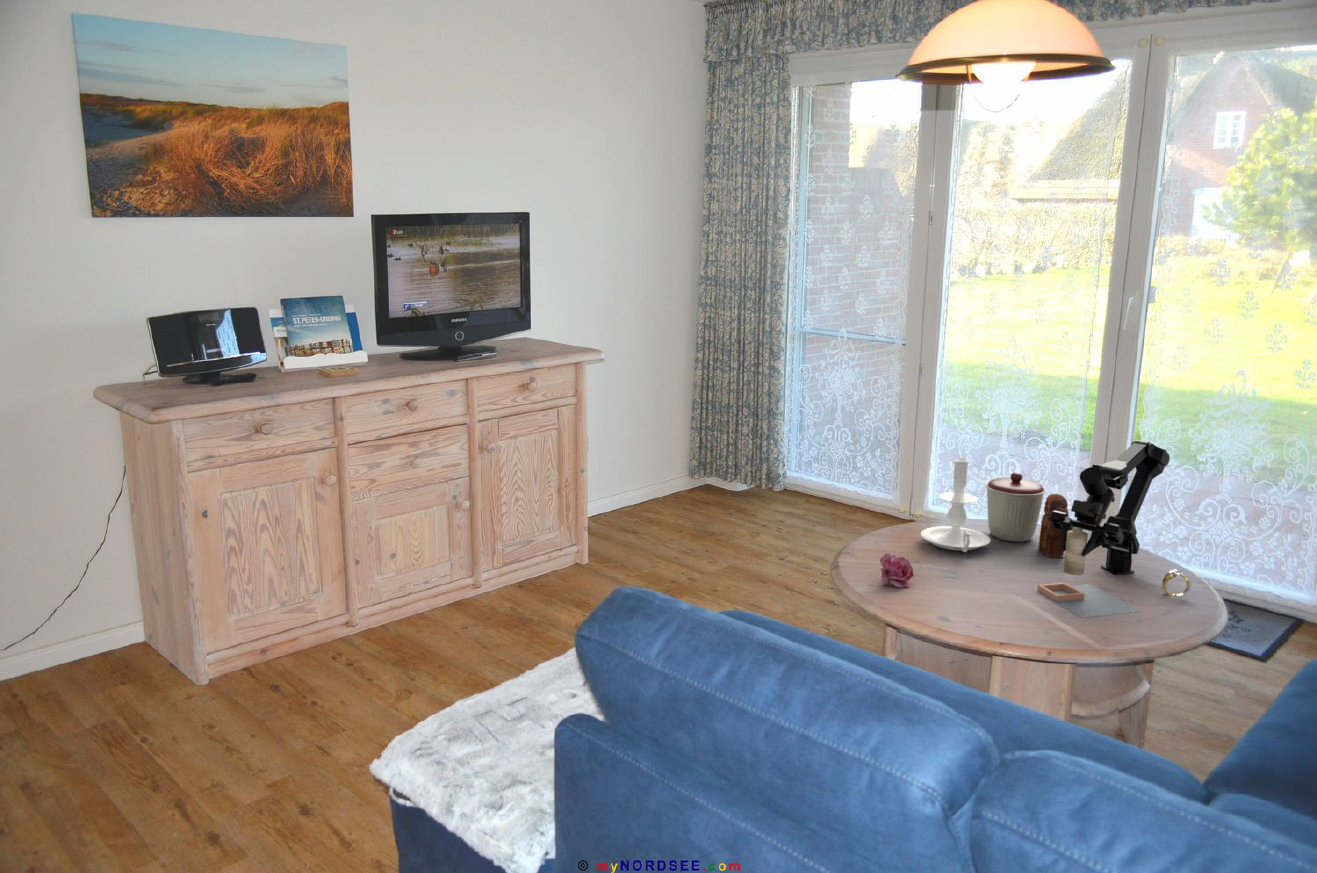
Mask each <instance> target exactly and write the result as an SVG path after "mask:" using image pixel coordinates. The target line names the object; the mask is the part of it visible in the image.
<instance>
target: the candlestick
mask: <svg viewBox="0 0 1317 873" xmlns="http://www.w3.org/2000/svg"><path fill="white" fill-rule="evenodd" d="M968 461H969V459H968V458H965V457H960V458H958V459H954V469H953V470H954V471H953V478H952V479H953V486H952V491H953V492H951V491H949V492H943V493H939V495H938V498H940V499H942V500H944V501H946V502H949V503H951V507H950V508H949V509H948V511H947V514H946V516H947V521H948V522H949V524H950V525H952V526H950V525H948V526H947V525H945V526H943V525H941V526H932V527H928V528H924V529H923V530H921V531H920V536H921V538H923V539H924V540H926V541H928V542H929V543H930V544H932V545H934V546H936V547H938V548H942V549H946V550H950V551H959V552H960V551H962V552H963V553H967V552H968V551H973V550H976V549H979V548H981V547H984V546H987V545H989V544H990V543H991V541H992V540H991V538H990V536H988V535H987V534H985V533H984V532H981V531H978V530H976V529H975V530H974V529H972V528H968V527H967V528H966V527H962V525H964V523H965V522H966V520H967V518H968V516H967V512H966V509H965V506H964V505H965V504H968V503H975V502H977V501H979V498H978V497H977V496H975V495H973V494H969V493H965V487H966V486H967V475H968Z"/></svg>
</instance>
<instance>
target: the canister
mask: <svg viewBox="0 0 1317 873" xmlns="http://www.w3.org/2000/svg"><path fill="white" fill-rule="evenodd" d="M984 486H985V488H986V491H987V493H986V494H987V495H986V498H987V500H986V501H987V521H988V522H987V523H988V524H987V525H988V530H989V532H990V534H991V536H993V537H994V538H996V539H999V540H1002V541H1007V542H1014V543H1017V542H1018V543H1020V542H1027V541H1030V540H1031V539H1033V536H1034V535H1035V533H1036V530H1037V526H1038V522H1039V517H1040V512H1041V508H1042V504H1043V499H1044V496H1045V494H1046V492H1047V488H1045V487H1044V486H1042V484H1040V483H1039V482H1037V481H1034V480H1031V479H1027V478H1023V475H1022V473H1021V472H1019V471H1018V472H1017V471H1016V472H1012V473H1011V474H1010V477H997V478H993V479H991V480H990V481H987V482H985V483H984Z"/></svg>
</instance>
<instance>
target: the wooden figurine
mask: <svg viewBox="0 0 1317 873" xmlns="http://www.w3.org/2000/svg"><path fill="white" fill-rule="evenodd" d="M1068 504H1069V503H1068V501H1067V499H1066V497H1064V496H1063V495H1062V494H1058V493H1050V494H1049V495H1048V496H1047V497H1046V499H1045V502H1044V507H1043V513H1044V514H1043V515H1042V517H1041V518H1042V520H1041V522H1040V523H1041V524H1040V532H1039V538H1038V539H1039V541H1038V551H1039V552H1041V553H1042V554H1043V555H1045V556H1046V557H1047V558H1054V559H1055V558H1057V559H1059V558H1063V557H1064V555H1065V551H1063V549H1062V547H1063V530H1059V529H1055V528H1054V527H1053V525H1052V523H1051V521H1050V519H1049V516H1050V514H1051V512H1052V511H1059V512H1064V513H1067V515H1068V517H1069V518H1070V516H1069V509H1068Z"/></svg>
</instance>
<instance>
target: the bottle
mask: <svg viewBox="0 0 1317 873" xmlns="http://www.w3.org/2000/svg"><path fill="white" fill-rule="evenodd" d="M1088 534H1089V533H1088V532H1085V531H1084V529H1082V528H1079V527H1074V528H1073V530H1069V531H1068V532H1067V541H1066V550H1065V551H1064V562H1063V573H1065V574H1067V575H1071V576H1083V575H1084V572H1085V562H1086V556H1082V552H1083V550H1084V548H1085V546H1086V544H1087V542H1088V537H1089V536H1088Z"/></svg>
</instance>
